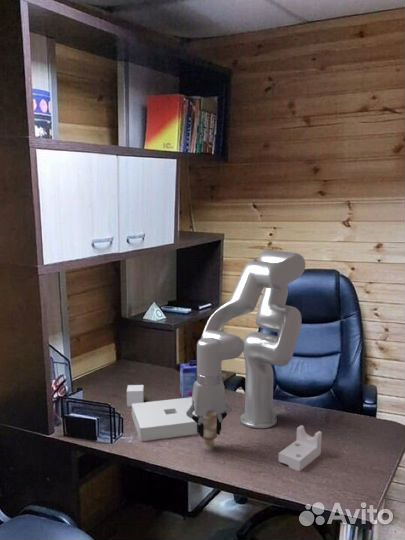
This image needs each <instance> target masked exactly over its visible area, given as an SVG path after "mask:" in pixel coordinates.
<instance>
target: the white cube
mask: <svg viewBox="0 0 405 540" xmlns="http://www.w3.org/2000/svg"><path fill="white" fill-rule="evenodd" d="M144 392H145V388H144V384H127V388H126V407H132V404H134V403H143V402H144V401H145V397H144V396H145V395H144Z"/></svg>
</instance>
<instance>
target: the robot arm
mask: <svg viewBox="0 0 405 540" xmlns="http://www.w3.org/2000/svg"><path fill="white" fill-rule="evenodd" d="M305 269H306V260H305V258H304V256H303V255H301V254H300V253H298V252H292V251H291V252H290V251H289V252H288V251H281V250H272V249H271V250H263V251H262V252H260V254H258V258H257V260H251V261H249V262H247V263H246V264H245V265H244V266H243V269H242V272H241V273H240V276H239V278H238V281H237V282H236V286H235V287H234V290H233V291H232V295H231V297H230V299H229V300H227V302H225V303H223V304H222V305H221V306H220V307H218V308H217V309H216V311H214V312H213V313H212V314H211V315H210V316H209V318H208V319H207V322H206V324H205V326H204V329H203V331H202V334H201V337H200V339H198V341H197V343H196V360H197V381H195V382H194V386H193V393H192V405H191V407H190V408H189V410H188V411H187V412H186V415H187V416H188V417H189V418H191V419H193V420H194V421H195V422H196V423H197V433H199V434H198V435H199V437H201V438H202V437H203V424H202V420H203V416H204V415H206V412H213V411H216V414H217V436H219V435H220V434H221V431H222V422H223V421H224V419H225V418H226V417H227V416H228V415H229V414H230V413H231V412H232V411H233V409H232V408H231V406H230V405H229V404H228V403H227V398H226V390H225V389H226V388H225V385H224V381H223V379H224V378H226V377H227V373H226V372H222V362H223V361H227V360H235V359H236V358H239V357H240V356H241V355H242V354H243V356H244V357H243V359H244V365H245V366H244V367H245V381H244V382H245V383H244V385H245V388H244V389H245V390H244V391H245V393H244V400H245V401H244V412H243V413H242V414H241V415H240V422H241V423H242V424H243V425H244V426H246V427H248V428H253V429H268V428H272V427H274V426H275V425H276V424H277V422H278V421H277V420H278V418H277V416H278V415H280V416H283V415H286V414H287V412H286V408H280V407H279V406H278V407H277V406H276V407H273V406H274V405H273V400H274V370H273V367H272V365H273V366H276V367H285V366H288V365H289V364H290V362H291V360H292V359H293V356H294V352H295V349H296V346H297V341H298V338H299V334H300V332H301V327H302V313H301V312H300V310H299V309H298V308H297V307H295V306H291V305H286V303H287V298H288V296H289V289H288V285H289V284H291V283H293V282H294V281H296V280H298V279H299V278H300V277H301V276H302V275H303V273H304V272H305ZM261 294H262V295H261ZM260 297H261V299H260ZM259 300H260V301H259ZM258 302H259V304H258ZM257 305H258V308H257ZM256 308H257V312H256V315H255V323H256V325H257V326H258V328H261V329H262V330H265V331H266V330H267V331H270V332H275V333H278V336H277V335H274V334H271V333H265V332H261V331H252V332H250V333H247V335H245V337H244V339H242V337H240V336H238V335H235V334H231V333H228V332H224V331H222V330H223V328H224V326H225V325H227V323H228V322H229V321H231V320H233V319H235V318H238V317H241V316H244V315H247V314H250V313H253V312H254V311H255V310H256ZM194 411H195V415H197V416H195V415H194V414H192V413H193V412H194Z"/></svg>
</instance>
